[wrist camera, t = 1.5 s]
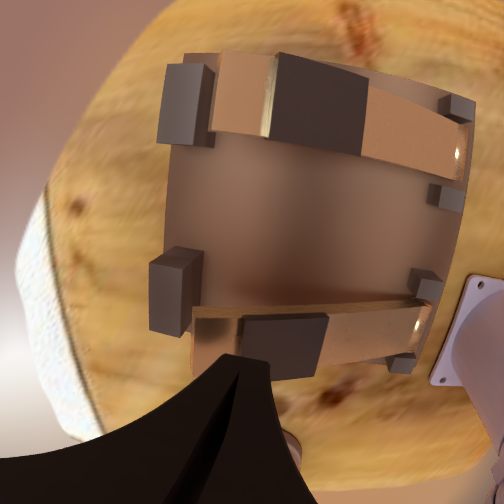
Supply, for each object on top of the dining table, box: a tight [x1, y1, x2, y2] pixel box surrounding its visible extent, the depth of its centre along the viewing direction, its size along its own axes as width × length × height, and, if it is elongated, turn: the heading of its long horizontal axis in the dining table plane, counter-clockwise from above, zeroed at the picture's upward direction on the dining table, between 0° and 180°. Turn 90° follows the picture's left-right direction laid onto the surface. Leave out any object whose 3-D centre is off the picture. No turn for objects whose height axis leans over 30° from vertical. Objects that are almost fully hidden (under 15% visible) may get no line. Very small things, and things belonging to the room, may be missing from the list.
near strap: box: [208, 49, 468, 183], centre depth 10 cm, size 10×3×1 cm, turn 83°
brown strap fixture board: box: [149, 53, 476, 374], centre depth 14 cm, size 14×14×6 cm
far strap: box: [190, 297, 432, 381], centre depth 12 cm, size 11×3×1 cm, turn 83°
